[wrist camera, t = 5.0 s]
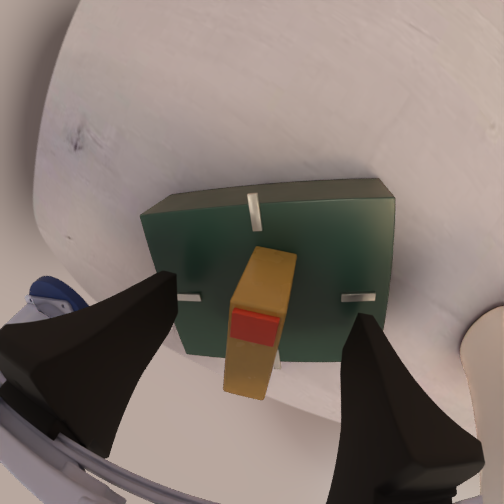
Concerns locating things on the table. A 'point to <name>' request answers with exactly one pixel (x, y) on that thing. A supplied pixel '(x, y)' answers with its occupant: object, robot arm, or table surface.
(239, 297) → the yellow block
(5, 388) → the robot arm
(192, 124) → the table surface
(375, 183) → the knob panel
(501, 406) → the drinking glass
